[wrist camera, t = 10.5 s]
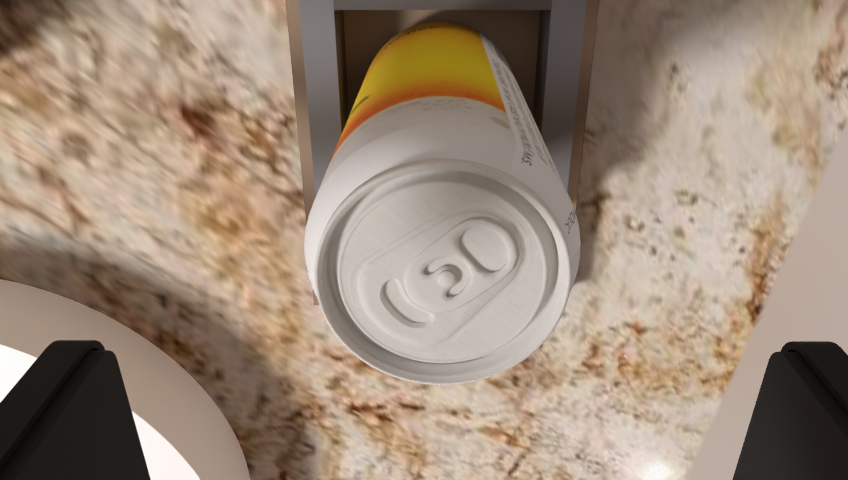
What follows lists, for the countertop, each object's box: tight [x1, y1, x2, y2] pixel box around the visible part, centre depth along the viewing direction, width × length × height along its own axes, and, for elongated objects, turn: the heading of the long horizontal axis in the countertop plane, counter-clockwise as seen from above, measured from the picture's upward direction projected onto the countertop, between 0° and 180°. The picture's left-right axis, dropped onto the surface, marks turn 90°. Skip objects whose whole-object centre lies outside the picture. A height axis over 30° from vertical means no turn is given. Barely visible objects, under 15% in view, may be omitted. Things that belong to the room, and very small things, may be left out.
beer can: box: [304, 21, 581, 385], centre depth 20 cm, size 6×6×15 cm
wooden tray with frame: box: [286, 0, 599, 305], centre depth 27 cm, size 20×12×4 cm, turn 0°
